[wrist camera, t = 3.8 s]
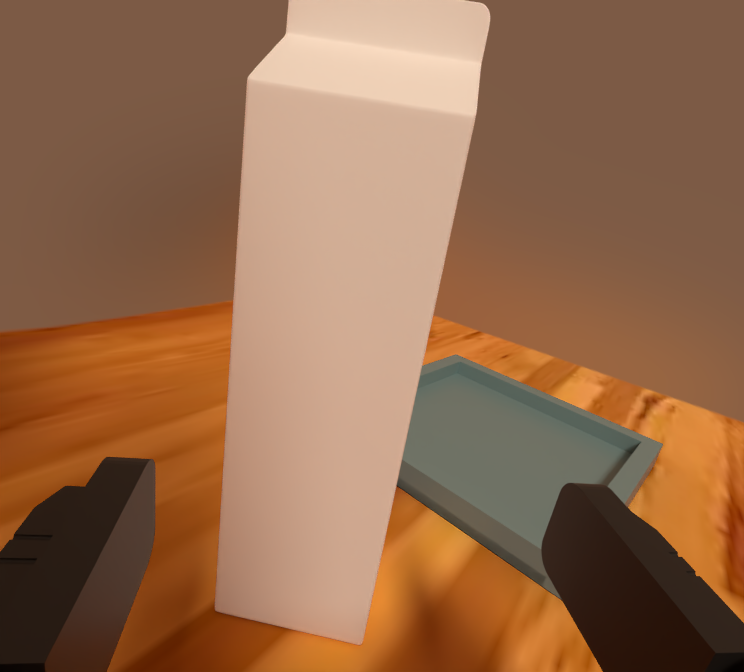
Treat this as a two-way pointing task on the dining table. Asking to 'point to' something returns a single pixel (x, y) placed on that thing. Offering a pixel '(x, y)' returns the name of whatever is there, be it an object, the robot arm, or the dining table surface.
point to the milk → (337, 294)
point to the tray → (510, 457)
